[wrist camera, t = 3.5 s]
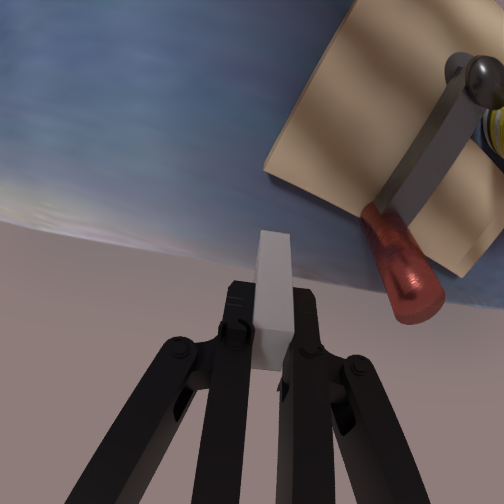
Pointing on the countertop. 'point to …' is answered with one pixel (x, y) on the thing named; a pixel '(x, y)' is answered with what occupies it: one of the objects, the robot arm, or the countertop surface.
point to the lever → (426, 188)
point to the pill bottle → (494, 130)
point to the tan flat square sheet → (396, 119)
